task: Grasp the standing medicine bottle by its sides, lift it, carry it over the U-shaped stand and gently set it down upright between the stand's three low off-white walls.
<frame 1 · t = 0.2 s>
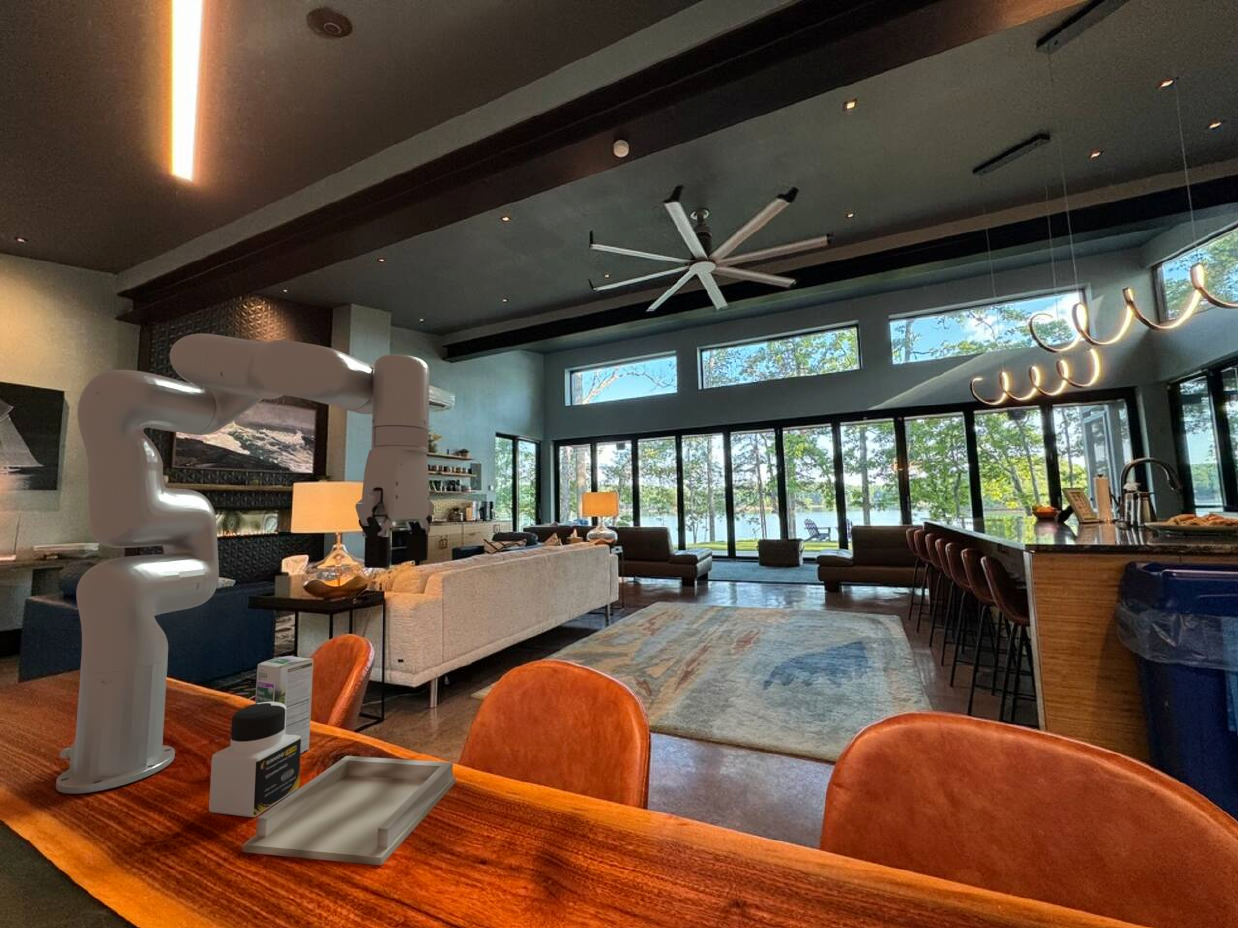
hand: (398, 563, 72), 31 cm above the table, tool pointing down, fingers open, 9 cm apart
syrup box: (281, 756, 81), on the table
medicine bottle: (255, 801, 68), on the table
bottle stand: (360, 813, 65), on the table
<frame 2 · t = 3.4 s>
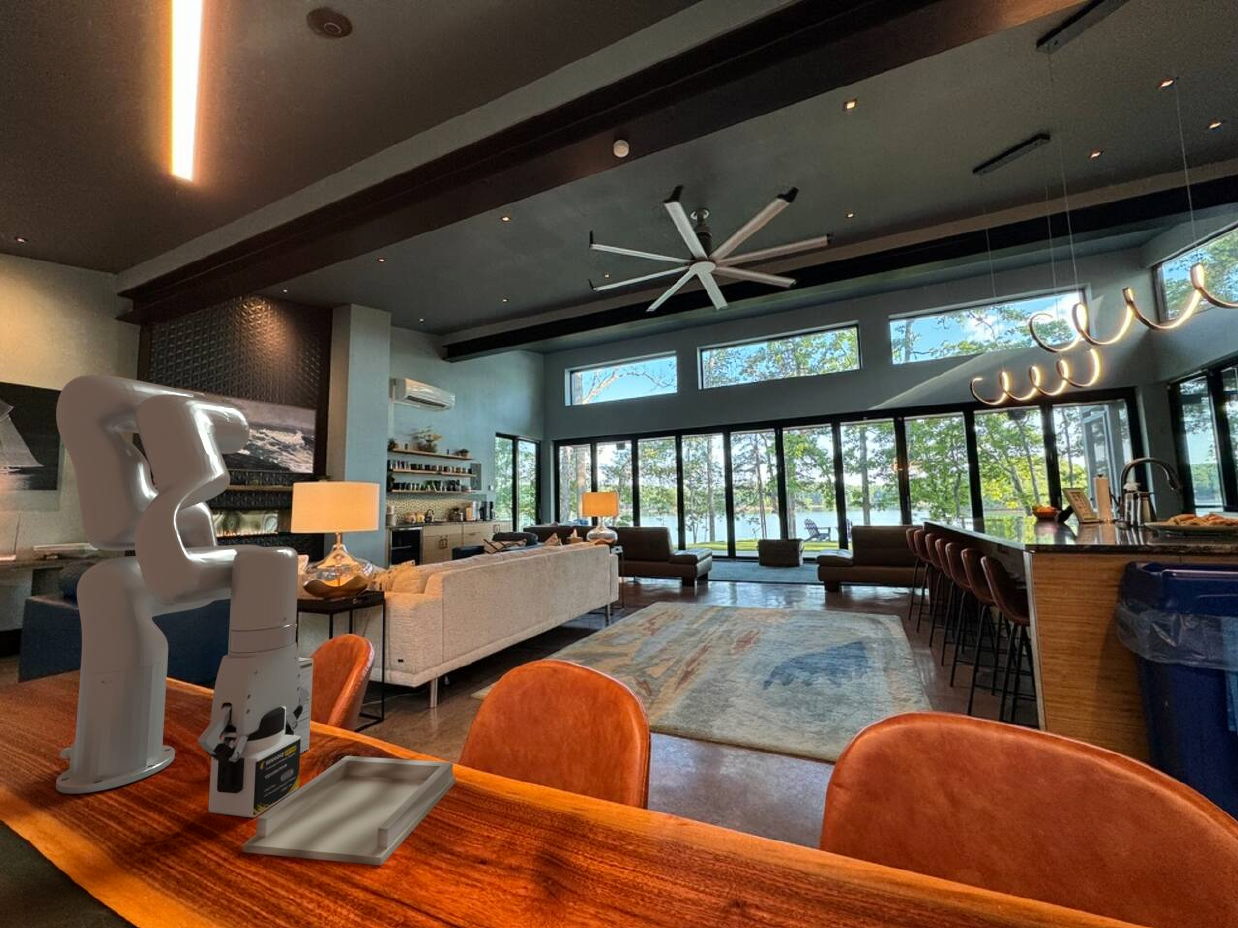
hand: (256, 774, 68), 3 cm above the table, tool pointing down, fingers closed on medicine bottle, 7 cm apart
medicine bottle: (255, 802, 68), on the table, touching gripper
everything else where it was.
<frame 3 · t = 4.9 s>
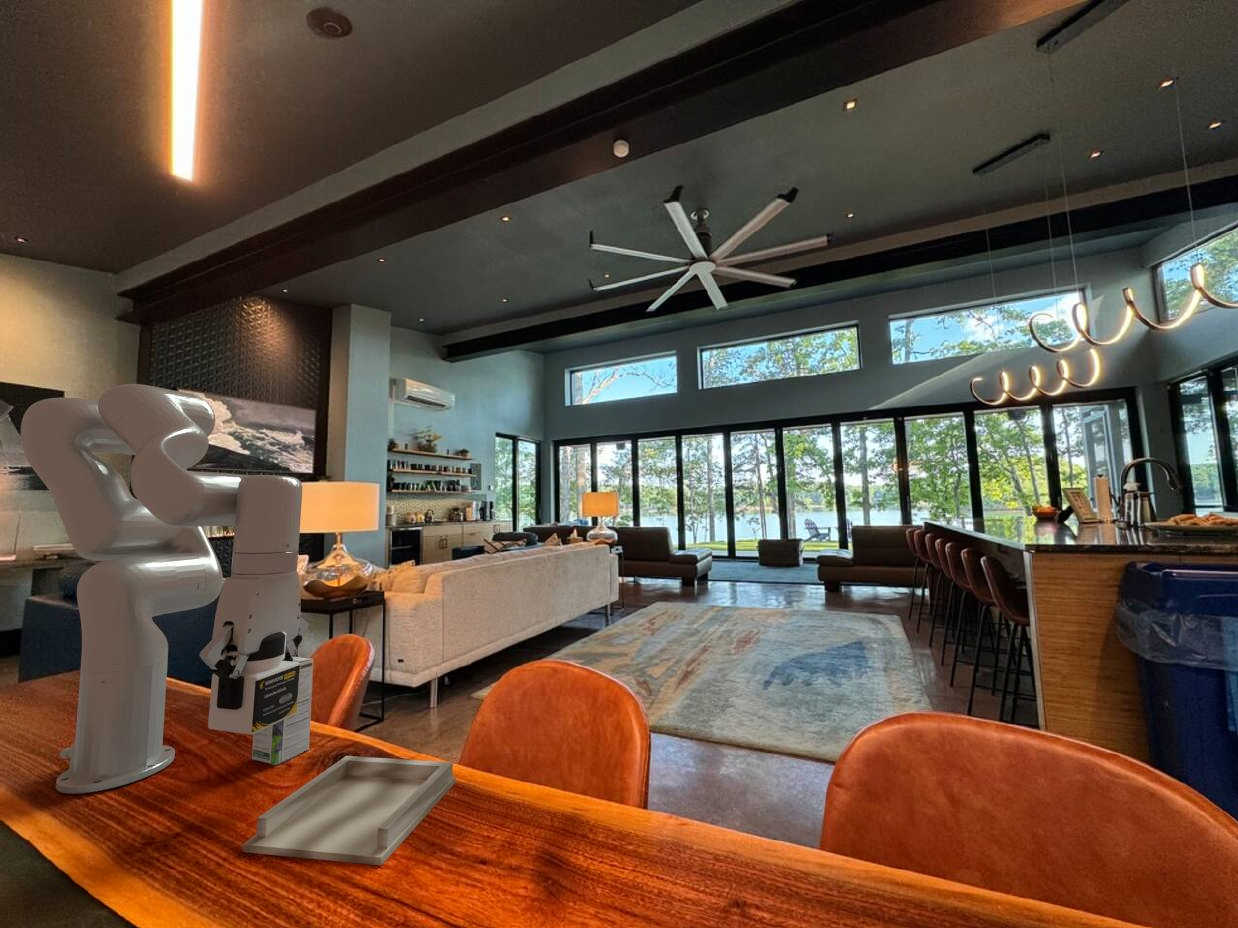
hand: (256, 695, 70), 13 cm above the table, tool pointing down, fingers closed on medicine bottle, 7 cm apart
medicine bottle: (253, 722, 69), point 10 cm above the table, touching gripper
everything else where it was.
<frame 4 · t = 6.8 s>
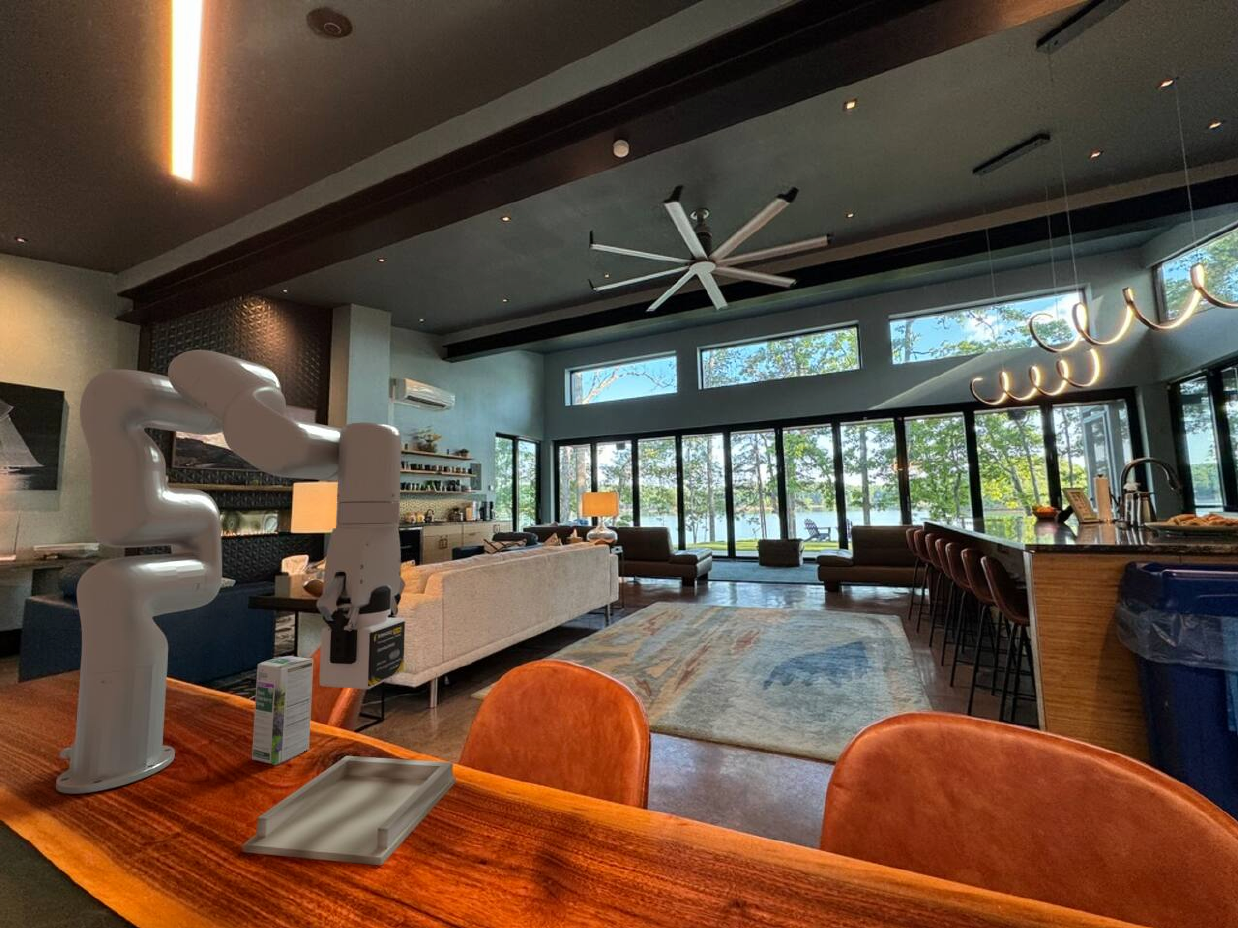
hand: (364, 652, 67), 20 cm above the table, tool pointing down, fingers closed on medicine bottle, 7 cm apart
medicine bottle: (362, 680, 66), point 16 cm above the table, touching gripper
everything else where it was.
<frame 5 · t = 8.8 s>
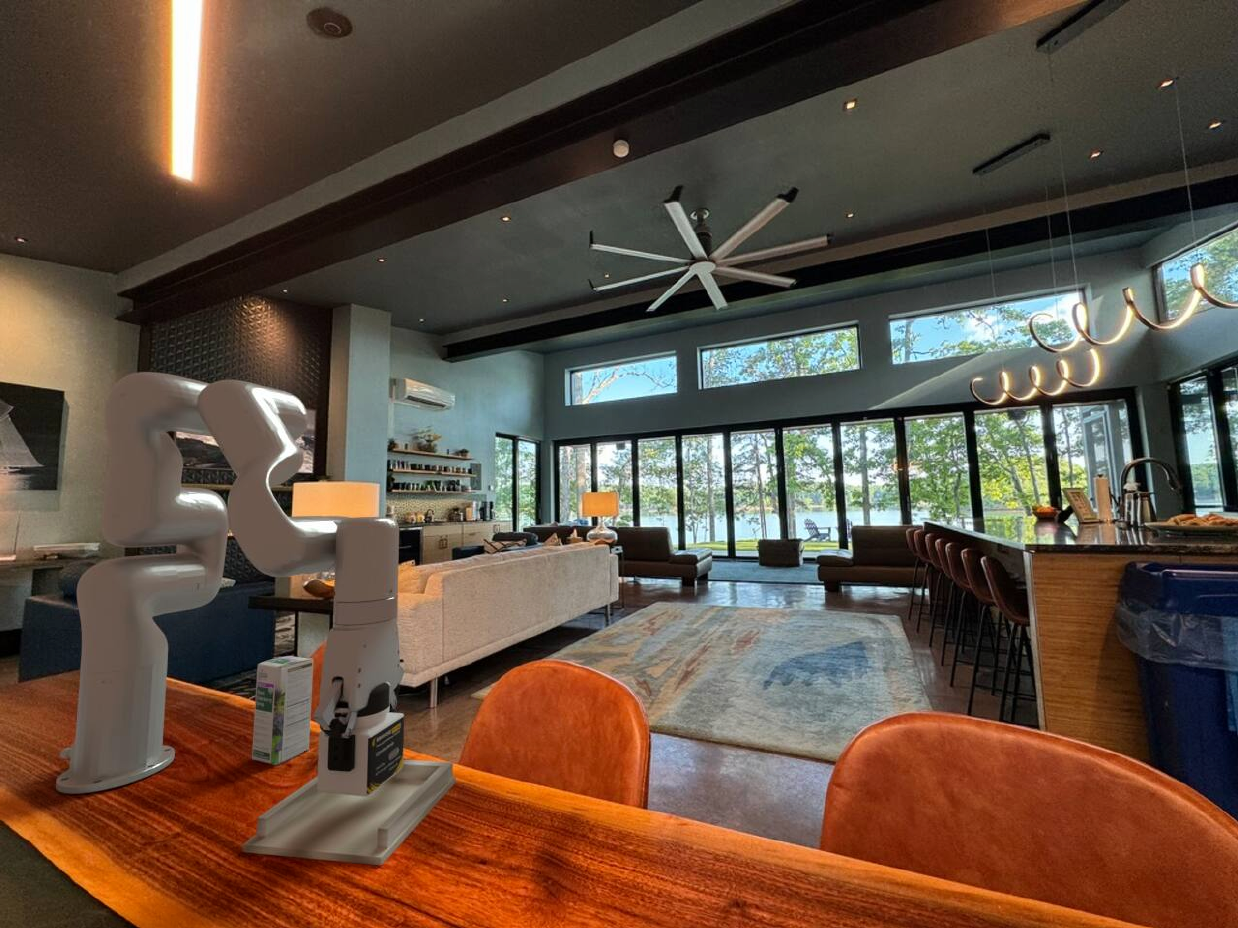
hand: (362, 753, 65), 7 cm above the table, tool pointing down, fingers closed on medicine bottle, 7 cm apart
medicine bottle: (361, 781, 65), point 4 cm above the table, touching gripper
everything else where it was.
when the fingers open (5 cm above the table, at t = 10.4 s): medicine bottle drops 1 cm, resting on bottle stand.
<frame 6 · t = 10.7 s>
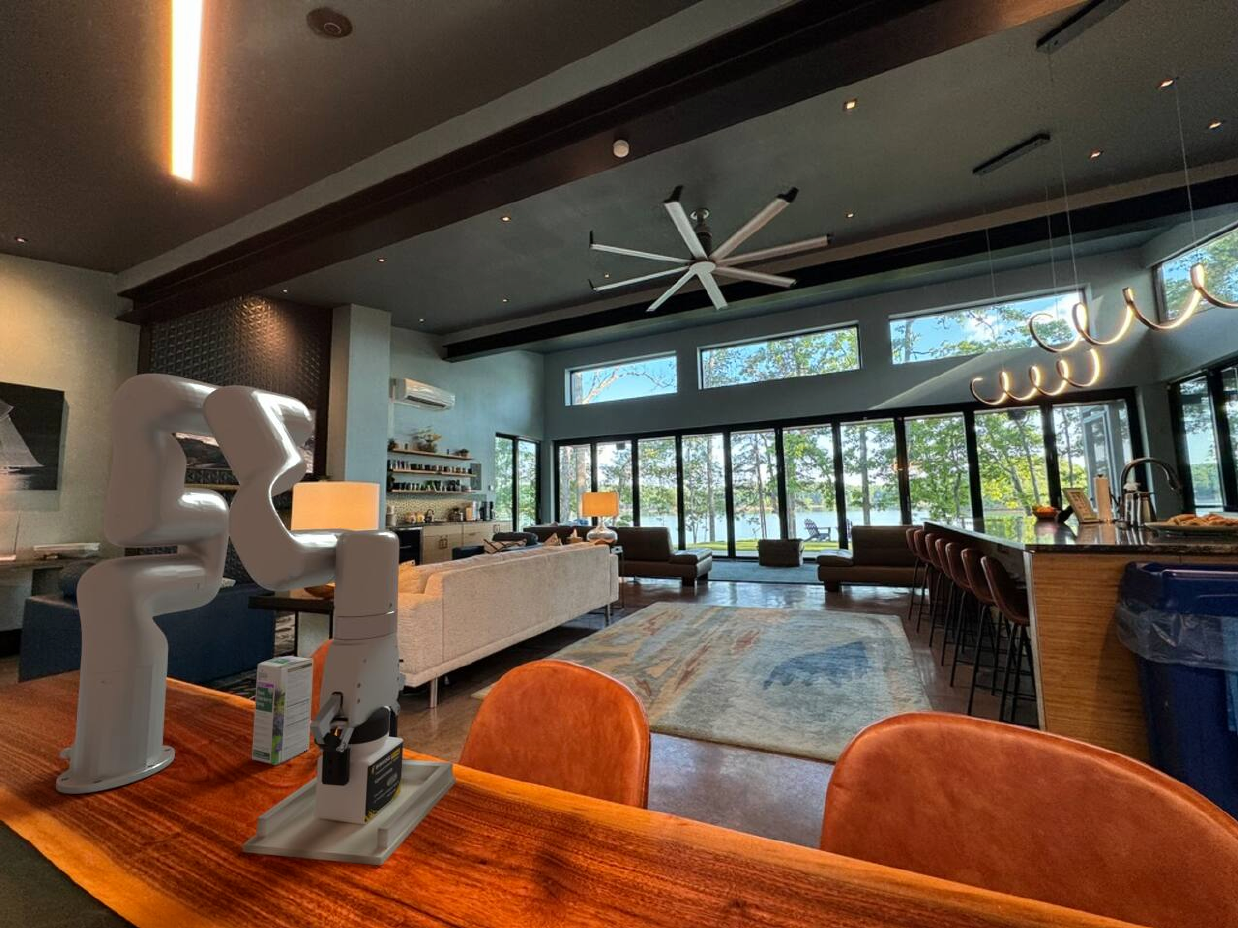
hand: (362, 763, 65), 6 cm above the table, tool pointing down, fingers open, 9 cm apart
medicine bottle: (359, 807, 65), point 1 cm above the table, touching bottle stand
everything else where it was.
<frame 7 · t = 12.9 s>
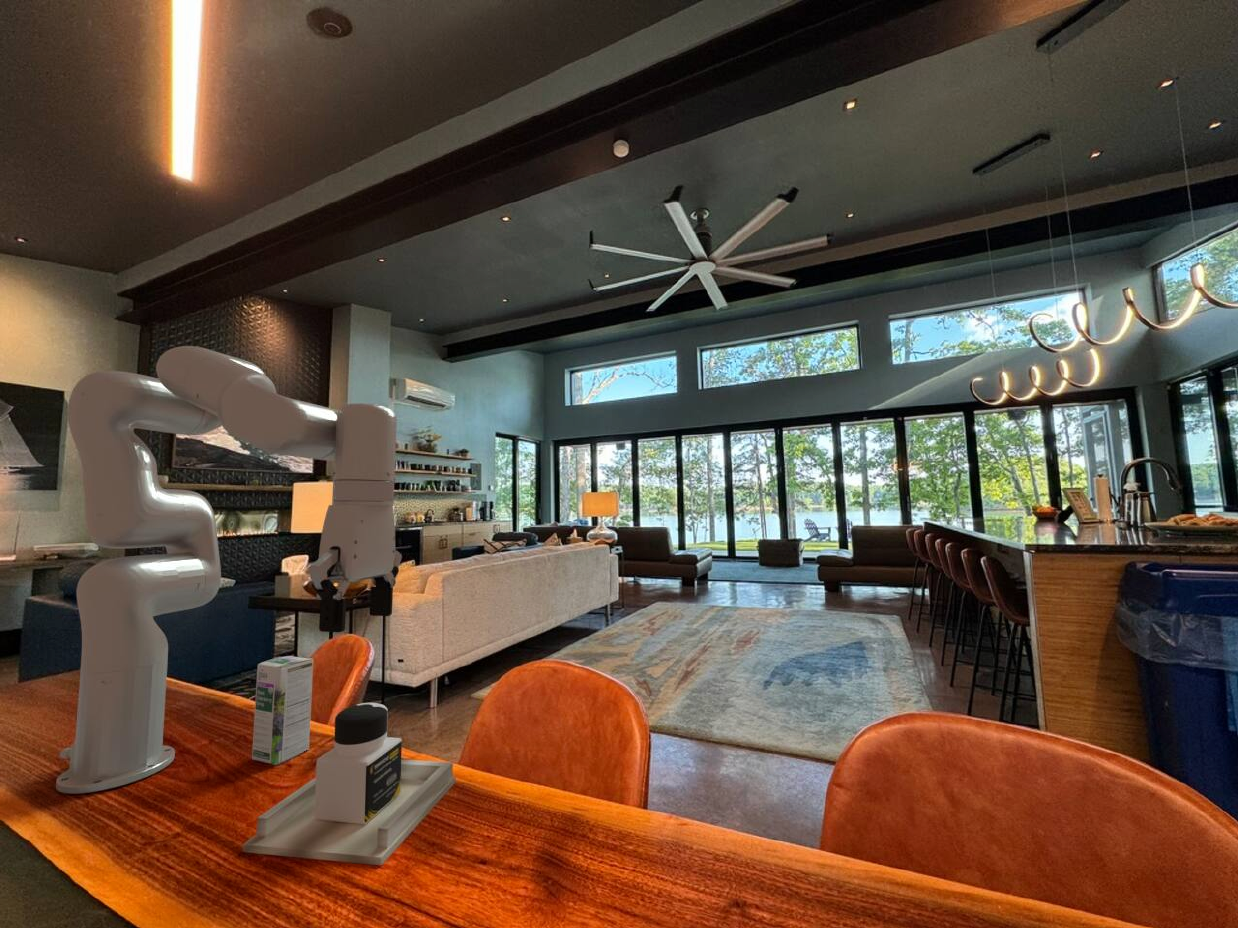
hand: (357, 622, 69), 23 cm above the table, tool pointing down, fingers open, 9 cm apart
nothing on the table moved.
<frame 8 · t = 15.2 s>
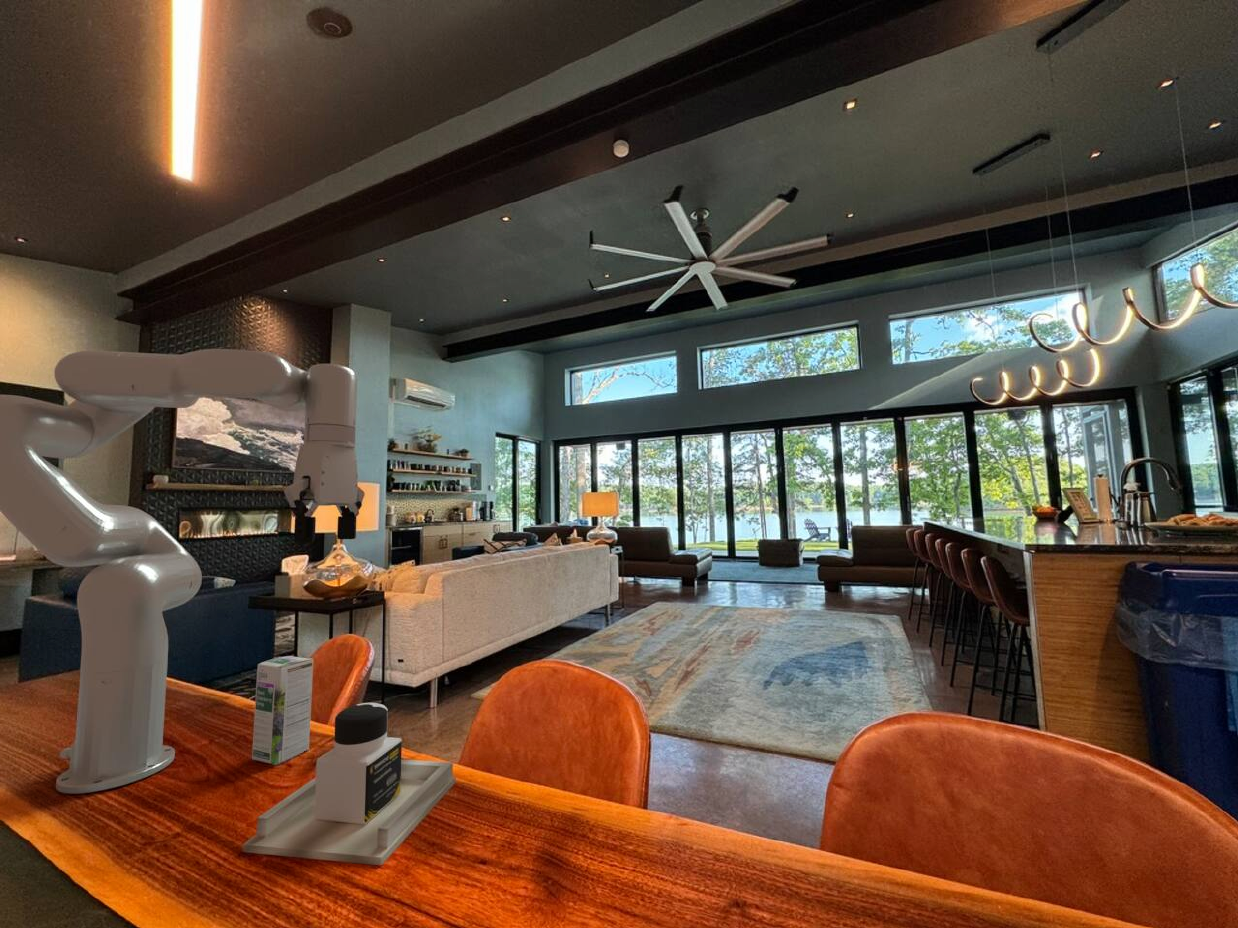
hand: (326, 540, 85), 33 cm above the table, tool pointing down, fingers open, 9 cm apart
nothing on the table moved.
at the end: medicine bottle inside the target area on the bottle stand (0.2 cm from its centre), point 0.6 cm above the bottle stand's base; medicine bottle tilted 0°; the gripper is holding nothing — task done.
